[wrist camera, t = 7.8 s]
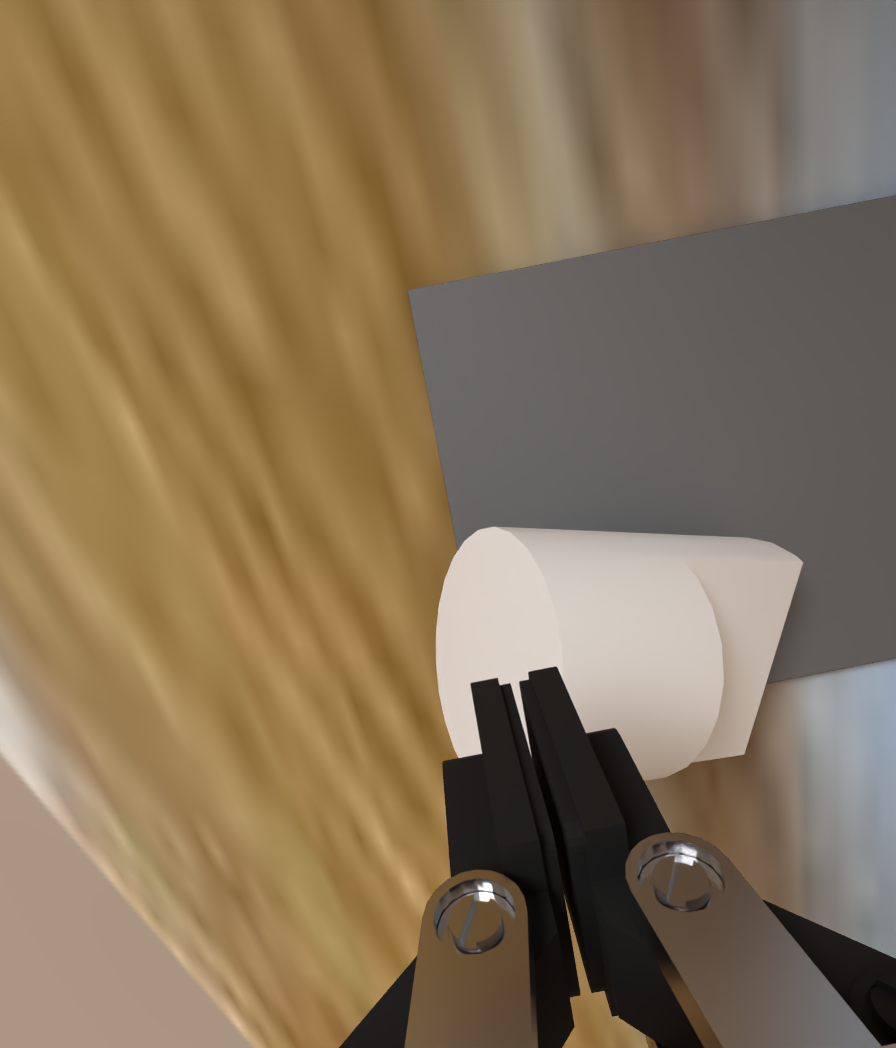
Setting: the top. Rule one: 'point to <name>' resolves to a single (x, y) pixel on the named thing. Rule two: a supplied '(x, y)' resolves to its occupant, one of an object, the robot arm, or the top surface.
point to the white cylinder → (619, 633)
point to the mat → (692, 405)
